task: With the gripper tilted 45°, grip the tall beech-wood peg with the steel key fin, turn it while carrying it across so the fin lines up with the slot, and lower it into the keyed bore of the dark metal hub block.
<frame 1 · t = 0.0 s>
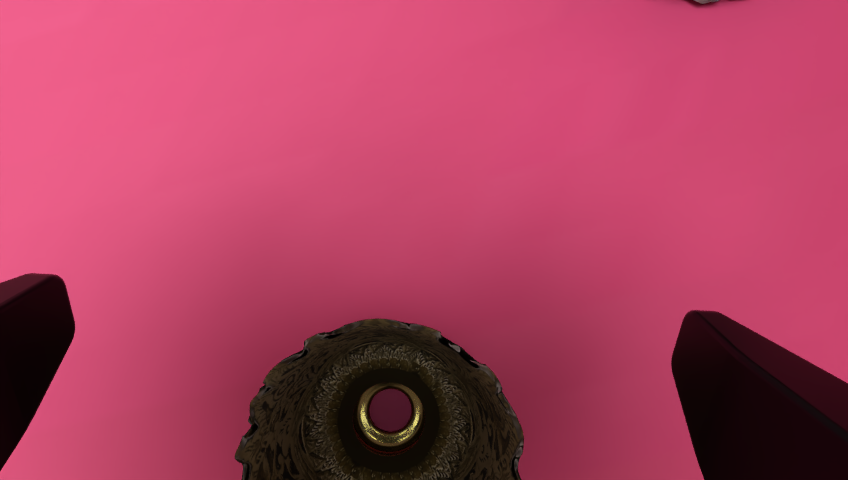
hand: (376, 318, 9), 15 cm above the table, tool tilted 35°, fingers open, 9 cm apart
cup: (390, 409, 23), on the table
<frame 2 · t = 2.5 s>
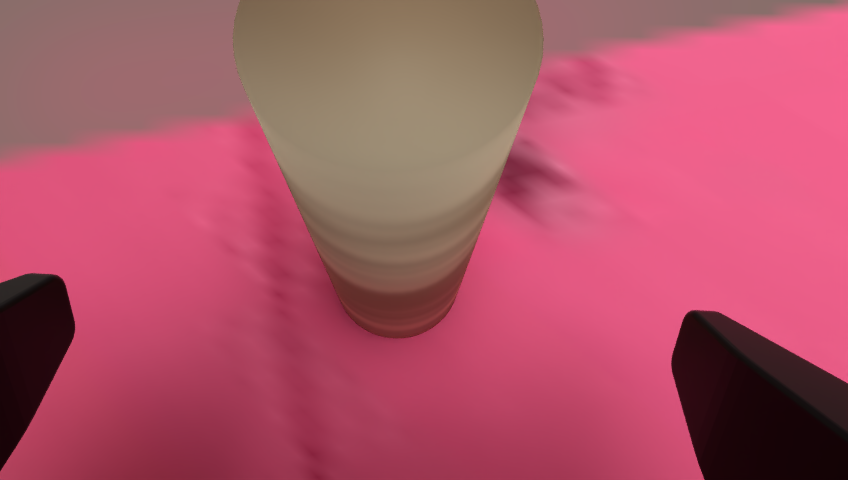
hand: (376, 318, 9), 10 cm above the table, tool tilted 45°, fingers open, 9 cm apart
keyed peg: (397, 276, 20), on the table
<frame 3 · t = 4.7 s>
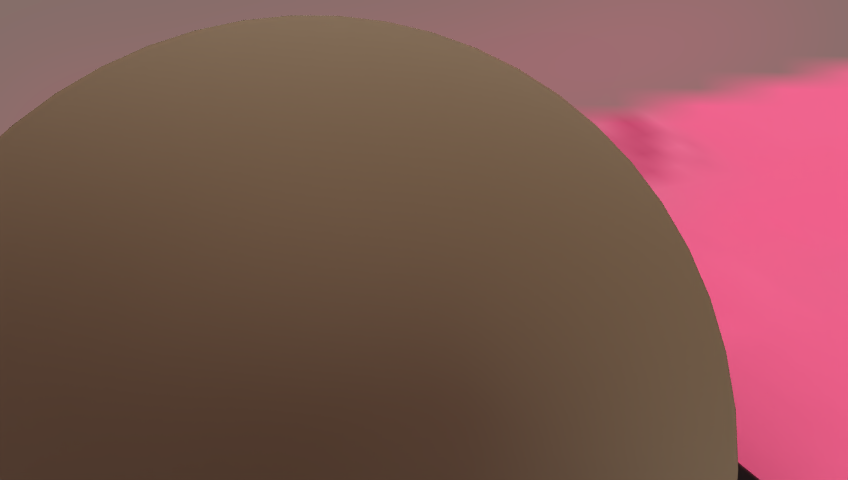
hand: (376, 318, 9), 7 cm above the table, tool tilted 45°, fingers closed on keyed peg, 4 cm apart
keyed peg: (383, 424, 15), on the table, touching gripper
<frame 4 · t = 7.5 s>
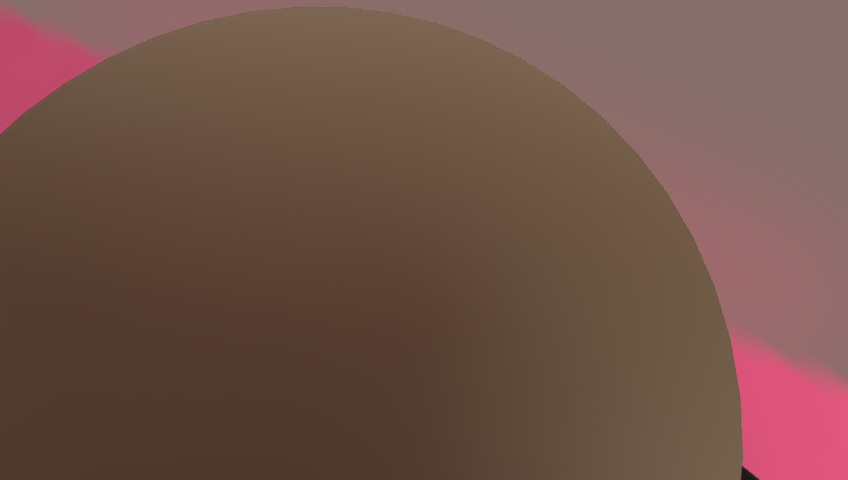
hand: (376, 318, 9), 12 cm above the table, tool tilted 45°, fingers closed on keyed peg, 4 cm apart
keyed peg: (385, 422, 15), point 6 cm above the table, touching gripper
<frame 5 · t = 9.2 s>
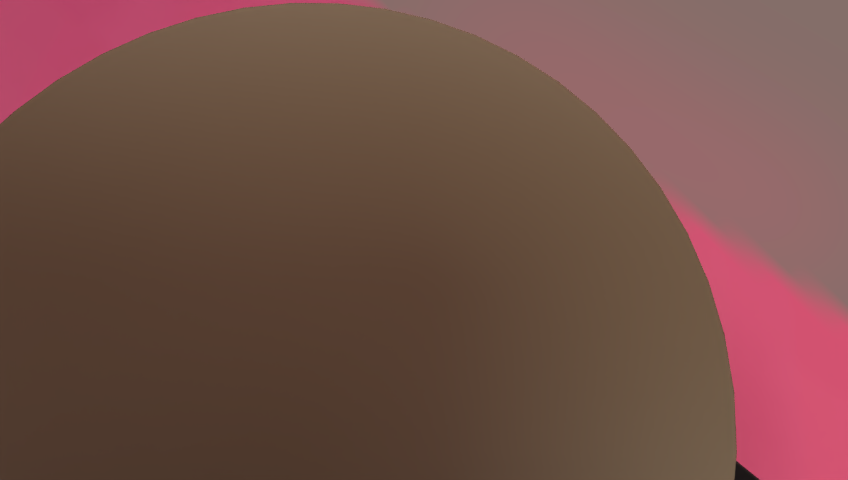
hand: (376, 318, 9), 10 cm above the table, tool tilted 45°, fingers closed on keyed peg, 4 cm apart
keyed peg: (383, 421, 15), point 3 cm above the table, touching gripper
when the fingers open (8 cm above the table, at t = 10.4 s): keyed peg drops 1 cm, resting in hub block.
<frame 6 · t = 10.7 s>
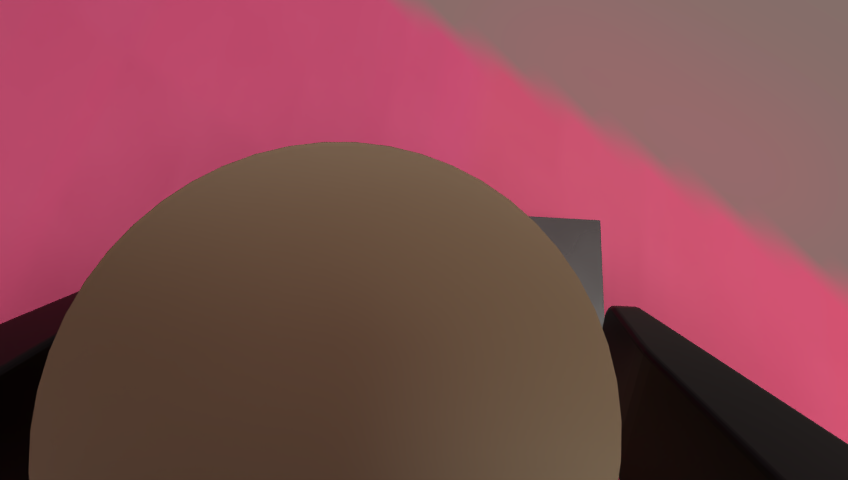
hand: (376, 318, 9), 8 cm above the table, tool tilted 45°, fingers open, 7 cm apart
hub block: (385, 425, 16), on the table
keyed peg: (385, 425, 16), resting in hub block
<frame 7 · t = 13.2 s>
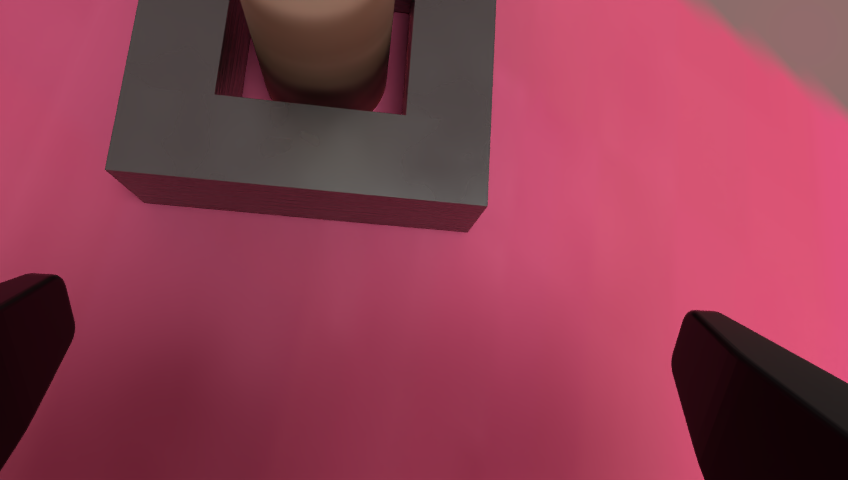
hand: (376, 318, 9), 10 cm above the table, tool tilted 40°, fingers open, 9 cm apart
hub block: (326, 72, 20), on the table
keyed peg: (326, 73, 20), resting in hub block
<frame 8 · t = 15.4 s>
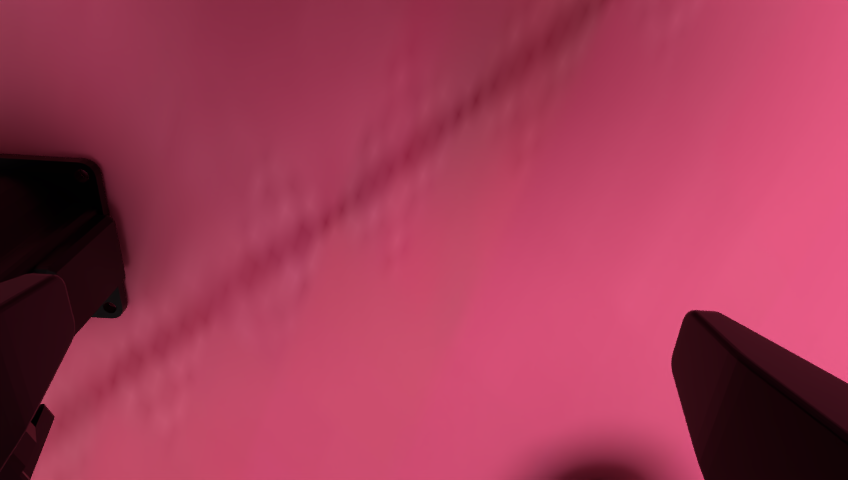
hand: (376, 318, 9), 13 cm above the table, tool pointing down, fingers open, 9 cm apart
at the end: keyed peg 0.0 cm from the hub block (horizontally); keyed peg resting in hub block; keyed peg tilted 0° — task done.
